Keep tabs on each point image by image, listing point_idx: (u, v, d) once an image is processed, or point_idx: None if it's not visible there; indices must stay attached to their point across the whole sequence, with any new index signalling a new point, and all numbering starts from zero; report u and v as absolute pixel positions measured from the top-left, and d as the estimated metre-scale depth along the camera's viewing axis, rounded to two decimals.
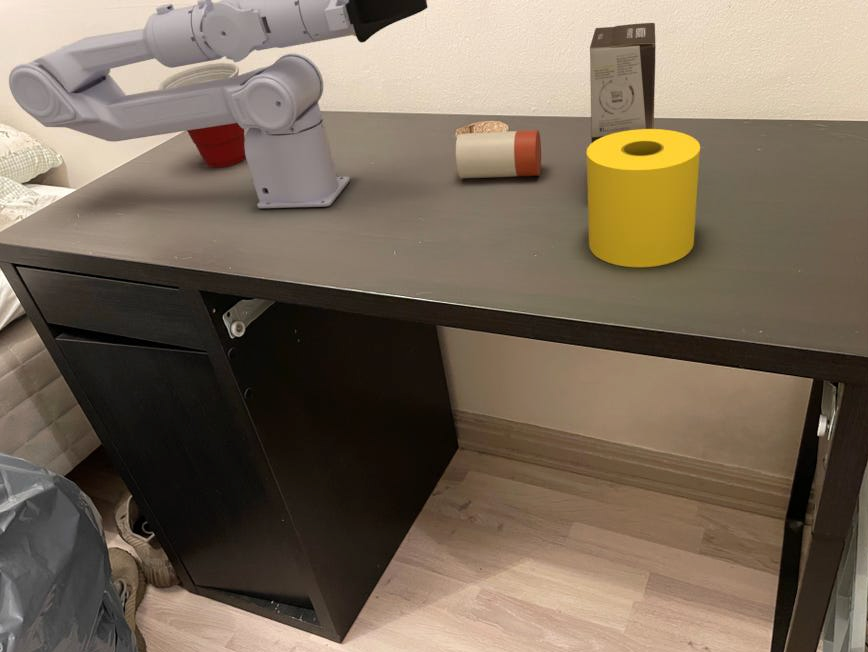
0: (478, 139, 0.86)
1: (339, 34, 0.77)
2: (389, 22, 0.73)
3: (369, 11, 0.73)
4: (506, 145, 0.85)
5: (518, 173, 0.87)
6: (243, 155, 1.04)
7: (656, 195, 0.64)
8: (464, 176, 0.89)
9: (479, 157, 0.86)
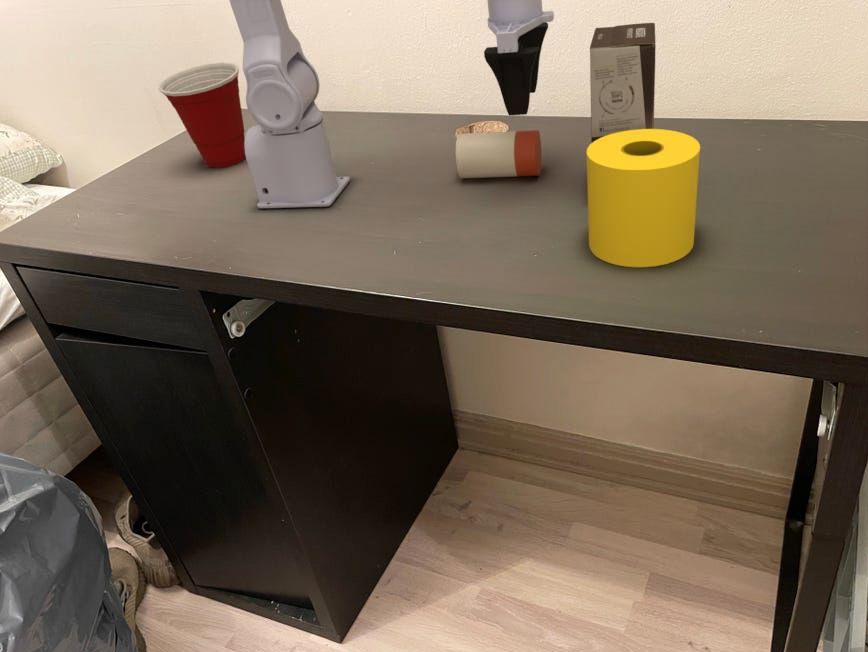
0: (478, 139, 0.86)
1: (491, 7, 0.77)
2: (499, 82, 0.78)
3: (510, 61, 0.77)
4: (506, 145, 0.85)
5: (518, 173, 0.87)
6: (243, 155, 1.04)
7: (656, 195, 0.64)
8: (464, 176, 0.89)
9: (479, 157, 0.86)
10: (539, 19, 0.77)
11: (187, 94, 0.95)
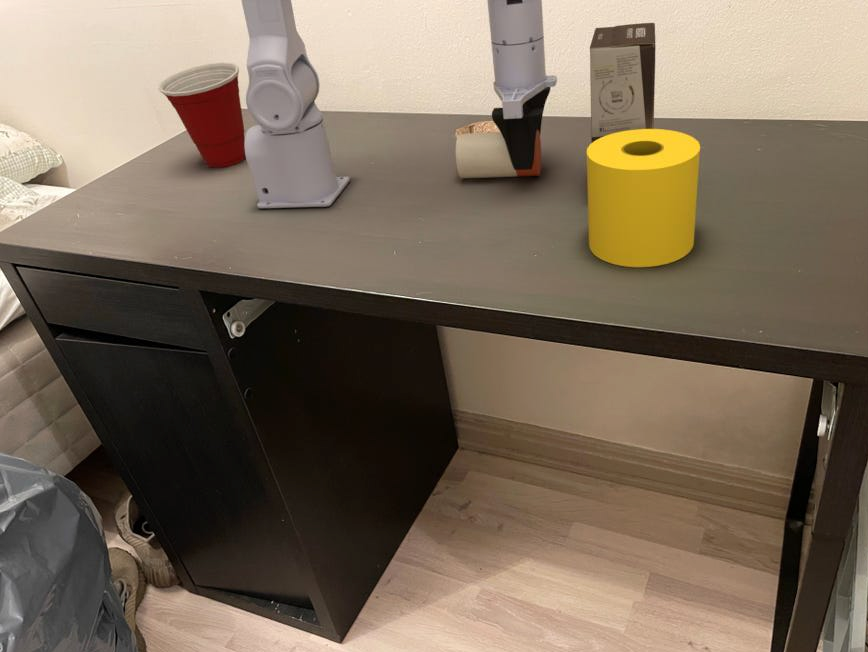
0: (478, 139, 0.86)
1: (496, 73, 0.81)
2: (506, 140, 0.83)
3: (516, 121, 0.82)
4: None
5: (518, 173, 0.87)
6: (243, 155, 1.04)
7: (656, 195, 0.64)
8: (464, 176, 0.89)
9: (479, 157, 0.86)
10: (543, 84, 0.81)
11: (187, 94, 0.95)
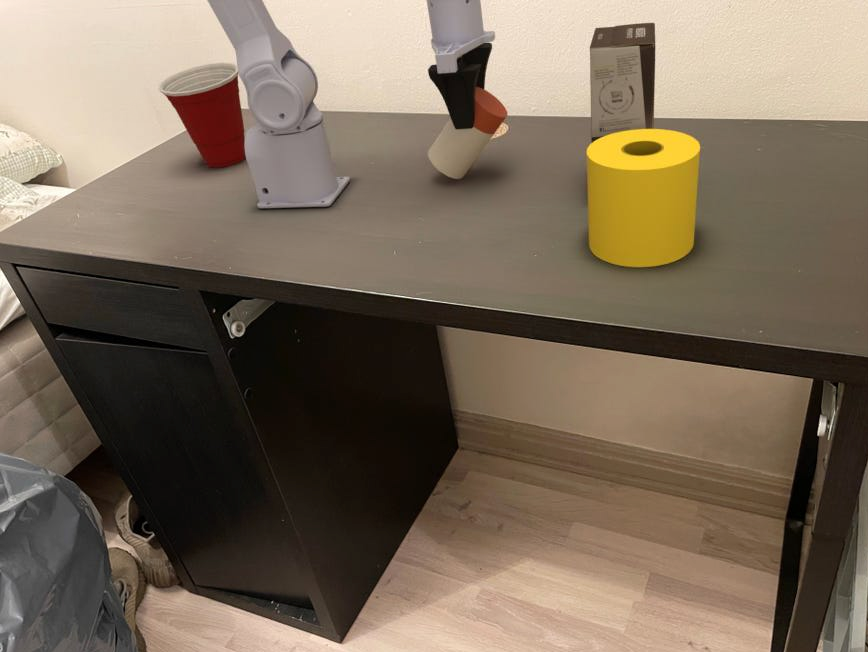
0: (439, 138, 0.87)
1: (432, 28, 0.79)
2: (444, 98, 0.81)
3: (454, 77, 0.80)
4: None
5: (486, 131, 0.85)
6: (243, 155, 1.04)
7: (656, 195, 0.64)
8: (457, 175, 0.89)
9: (449, 150, 0.86)
10: (480, 39, 0.79)
11: (187, 94, 0.95)
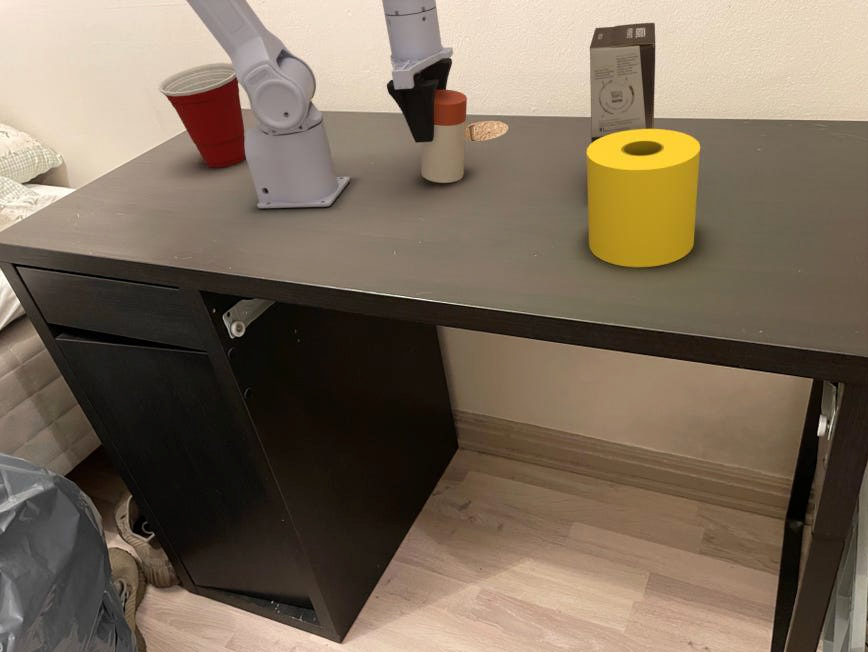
0: None
1: (391, 44, 0.81)
2: (403, 112, 0.83)
3: (412, 92, 0.82)
4: None
5: (453, 123, 0.85)
6: (243, 155, 1.04)
7: (656, 195, 0.64)
8: (454, 177, 0.89)
9: (432, 158, 0.87)
10: (437, 56, 0.81)
11: (187, 94, 0.95)
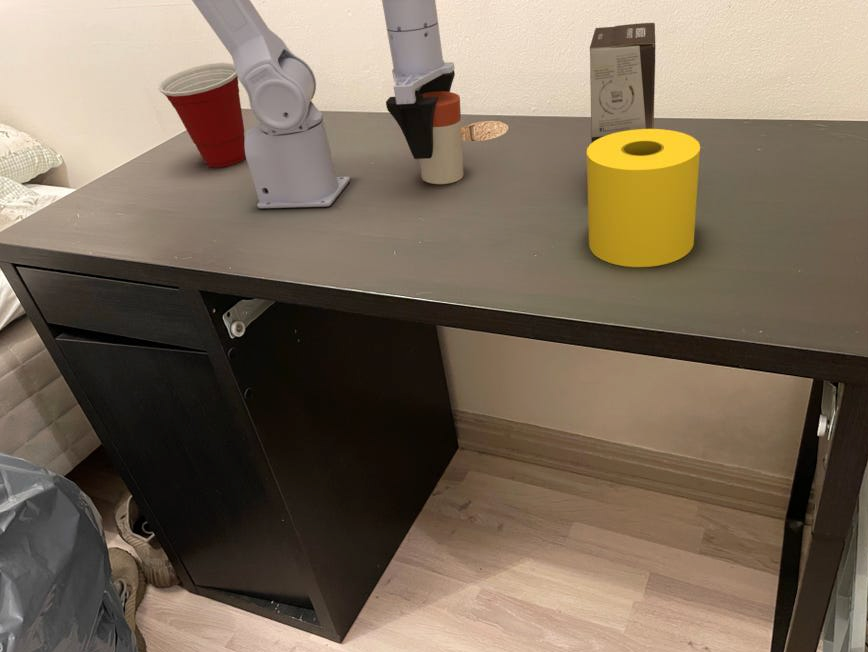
0: None
1: (393, 59, 0.82)
2: (402, 129, 0.83)
3: (411, 109, 0.82)
4: None
5: (448, 123, 0.85)
6: (243, 155, 1.04)
7: (656, 195, 0.64)
8: (453, 177, 0.89)
9: (430, 161, 0.88)
10: (439, 71, 0.82)
11: (187, 94, 0.95)
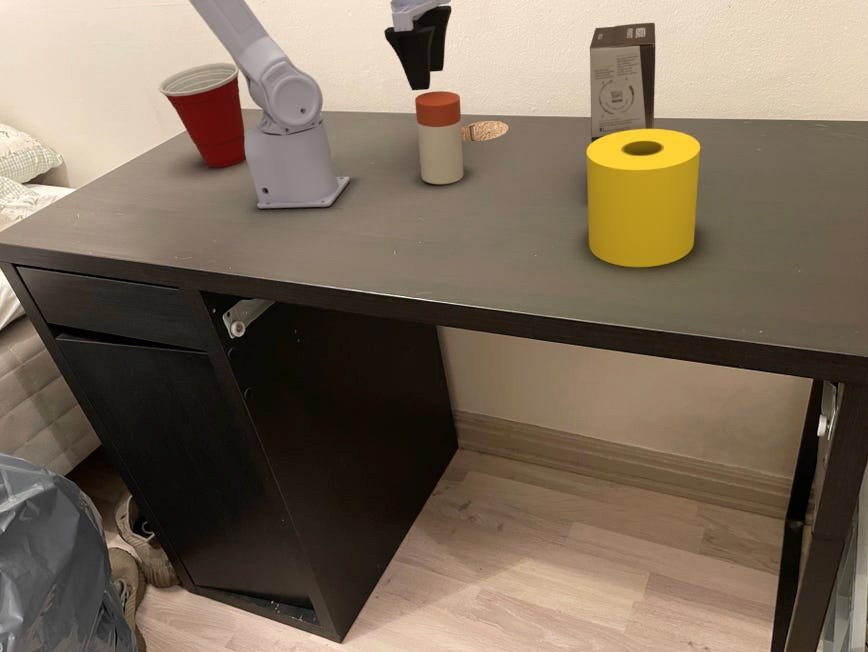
0: (420, 157, 0.89)
1: None
2: (400, 59, 0.86)
3: (409, 39, 0.85)
4: (420, 131, 0.86)
5: (448, 123, 0.85)
6: (243, 155, 1.04)
7: (656, 195, 0.64)
8: (453, 177, 0.89)
9: (430, 161, 0.88)
10: (435, 1, 0.84)
11: (187, 94, 0.95)
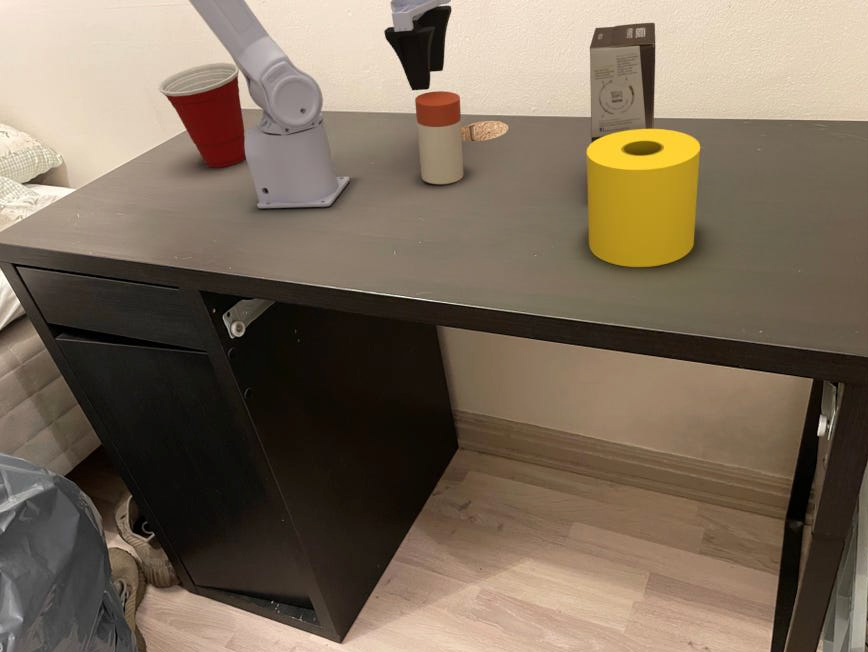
0: (420, 157, 0.89)
1: None
2: (400, 59, 0.86)
3: (409, 39, 0.85)
4: (420, 131, 0.86)
5: (448, 123, 0.85)
6: (243, 155, 1.04)
7: (656, 195, 0.64)
8: (453, 177, 0.89)
9: (430, 161, 0.88)
10: (435, 1, 0.84)
11: (187, 94, 0.95)
